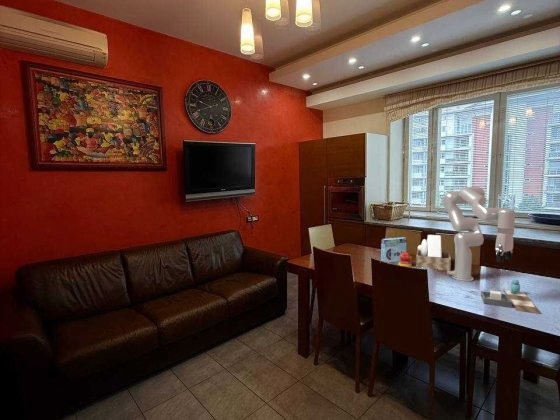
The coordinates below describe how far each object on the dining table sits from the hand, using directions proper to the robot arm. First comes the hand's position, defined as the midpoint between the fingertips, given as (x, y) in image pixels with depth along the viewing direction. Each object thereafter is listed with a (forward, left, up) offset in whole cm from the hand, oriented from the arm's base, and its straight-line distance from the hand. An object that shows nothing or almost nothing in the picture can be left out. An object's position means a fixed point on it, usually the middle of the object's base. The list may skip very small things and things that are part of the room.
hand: (504, 261), depth 170 cm
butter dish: (-31, +56, -8) cm, 64 cm away
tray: (-5, -11, -20) cm, 24 cm away
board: (+8, -4, -20) cm, 22 cm away
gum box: (-62, +35, -21) cm, 74 cm away
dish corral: (-35, +54, -20) cm, 68 cm away
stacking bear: (-52, +12, -21) cm, 58 cm away
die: (-5, -10, -20) cm, 23 cm away
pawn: (+8, +8, -20) cm, 23 cm away
